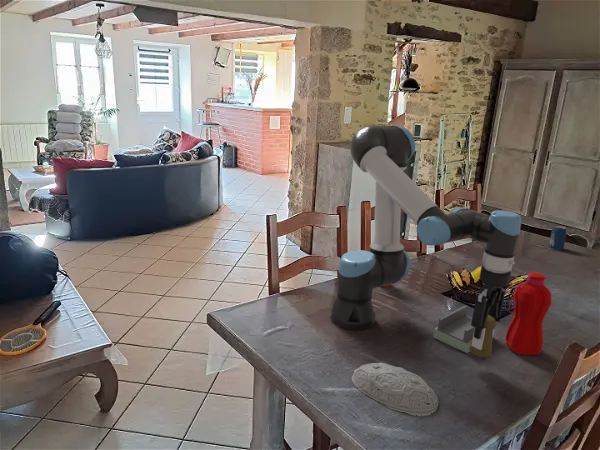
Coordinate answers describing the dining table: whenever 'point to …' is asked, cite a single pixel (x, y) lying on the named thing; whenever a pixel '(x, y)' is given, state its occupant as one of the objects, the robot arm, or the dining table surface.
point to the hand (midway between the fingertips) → (481, 343)
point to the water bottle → (529, 315)
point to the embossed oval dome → (395, 388)
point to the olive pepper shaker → (485, 339)
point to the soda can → (558, 237)
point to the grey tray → (455, 329)
